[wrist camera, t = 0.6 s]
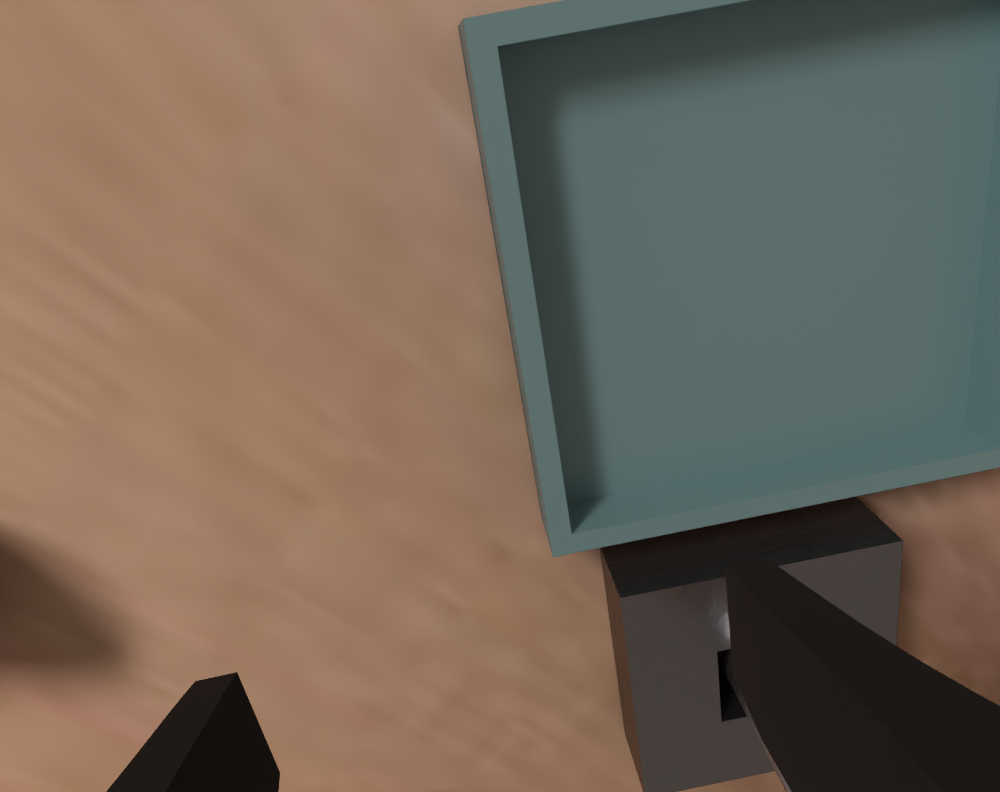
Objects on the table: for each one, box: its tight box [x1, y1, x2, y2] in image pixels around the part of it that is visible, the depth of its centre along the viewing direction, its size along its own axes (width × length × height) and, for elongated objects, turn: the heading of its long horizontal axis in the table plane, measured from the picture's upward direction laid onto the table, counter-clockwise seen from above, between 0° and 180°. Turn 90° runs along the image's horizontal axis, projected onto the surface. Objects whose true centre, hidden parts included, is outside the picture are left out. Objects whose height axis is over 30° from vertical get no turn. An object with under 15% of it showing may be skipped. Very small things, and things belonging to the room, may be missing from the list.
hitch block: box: [600, 496, 903, 792], centre depth 23 cm, size 8×8×2 cm
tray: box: [458, 0, 1000, 557], centre depth 18 cm, size 13×13×2 cm
